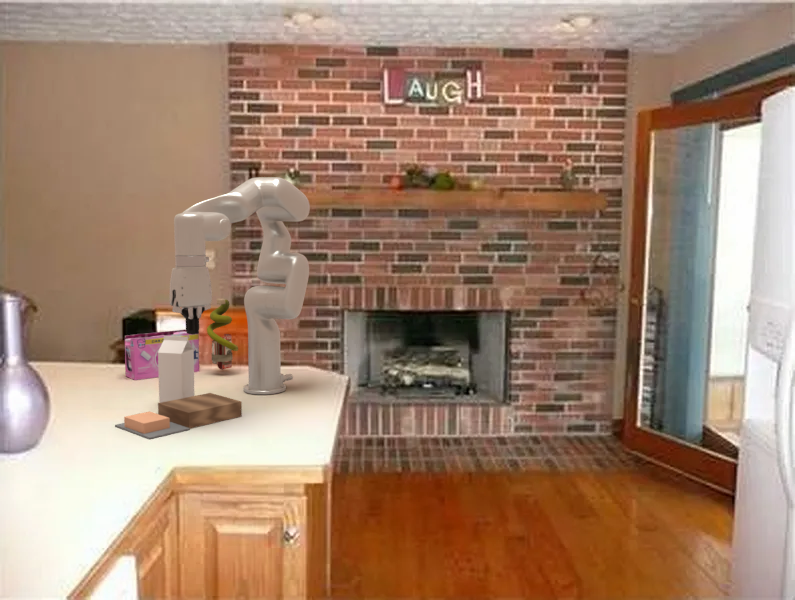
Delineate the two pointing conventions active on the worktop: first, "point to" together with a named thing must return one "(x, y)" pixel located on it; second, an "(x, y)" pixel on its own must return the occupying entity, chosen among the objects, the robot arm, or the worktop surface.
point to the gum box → (152, 353)
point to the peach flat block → (146, 422)
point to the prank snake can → (221, 344)
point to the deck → (200, 410)
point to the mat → (173, 429)
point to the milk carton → (175, 369)
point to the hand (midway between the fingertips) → (192, 333)
